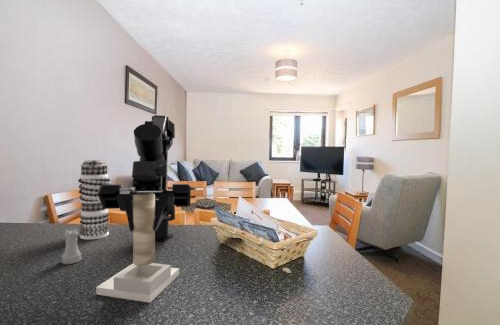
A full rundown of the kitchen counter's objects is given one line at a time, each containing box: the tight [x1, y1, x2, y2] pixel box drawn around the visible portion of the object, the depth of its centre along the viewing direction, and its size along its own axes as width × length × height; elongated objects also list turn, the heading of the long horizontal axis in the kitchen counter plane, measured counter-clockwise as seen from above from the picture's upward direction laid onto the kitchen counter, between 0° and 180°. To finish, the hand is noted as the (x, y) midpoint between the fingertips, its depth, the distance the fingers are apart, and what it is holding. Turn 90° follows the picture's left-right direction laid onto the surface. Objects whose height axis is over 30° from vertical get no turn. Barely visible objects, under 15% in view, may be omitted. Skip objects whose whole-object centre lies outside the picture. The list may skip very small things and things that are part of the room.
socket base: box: [95, 262, 180, 303], centre depth 59 cm, size 12×12×4 cm
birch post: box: [132, 193, 156, 266], centre depth 56 cm, size 4×4×14 cm
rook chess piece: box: [60, 228, 83, 265], centre depth 70 cm, size 4×4×8 cm
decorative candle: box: [77, 159, 111, 240], centre depth 90 cm, size 9×9×25 cm
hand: (143, 230), depth 55 cm, fingers closed on birch post, 4 cm apart
